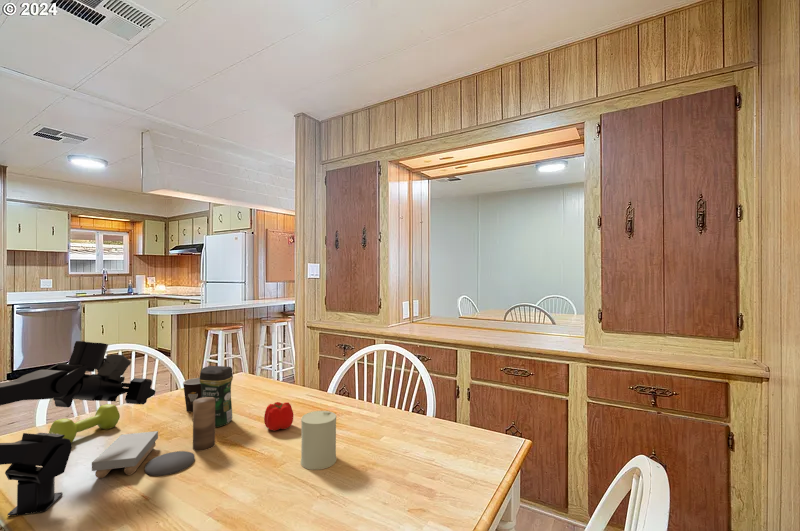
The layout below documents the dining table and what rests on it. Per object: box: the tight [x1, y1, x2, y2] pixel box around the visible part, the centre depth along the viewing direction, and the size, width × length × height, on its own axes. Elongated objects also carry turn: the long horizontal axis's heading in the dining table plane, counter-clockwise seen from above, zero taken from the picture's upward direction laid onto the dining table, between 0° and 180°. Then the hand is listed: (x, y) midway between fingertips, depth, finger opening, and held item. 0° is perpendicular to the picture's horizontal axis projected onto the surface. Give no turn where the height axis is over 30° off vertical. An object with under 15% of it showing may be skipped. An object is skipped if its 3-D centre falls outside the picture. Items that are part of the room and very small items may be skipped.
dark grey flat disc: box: [144, 450, 196, 477], centre depth 99 cm, size 11×11×1 cm
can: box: [300, 410, 337, 471], centre depth 101 cm, size 9×9×12 cm
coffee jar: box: [199, 365, 234, 428], centre depth 126 cm, size 10×8×19 cm
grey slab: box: [91, 430, 159, 479], centre depth 100 cm, size 16×9×4 cm, turn 15°
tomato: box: [263, 401, 294, 431], centre depth 122 cm, size 9×9×8 cm
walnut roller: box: [192, 397, 216, 452], centre depth 109 cm, size 6×6×13 cm
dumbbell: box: [48, 403, 121, 444], centre depth 116 cm, size 16×8×7 cm, turn 162°
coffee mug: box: [182, 377, 201, 413], centre depth 138 cm, size 12×9×10 cm
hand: (140, 391), depth 107 cm, fingers open, 9 cm apart
